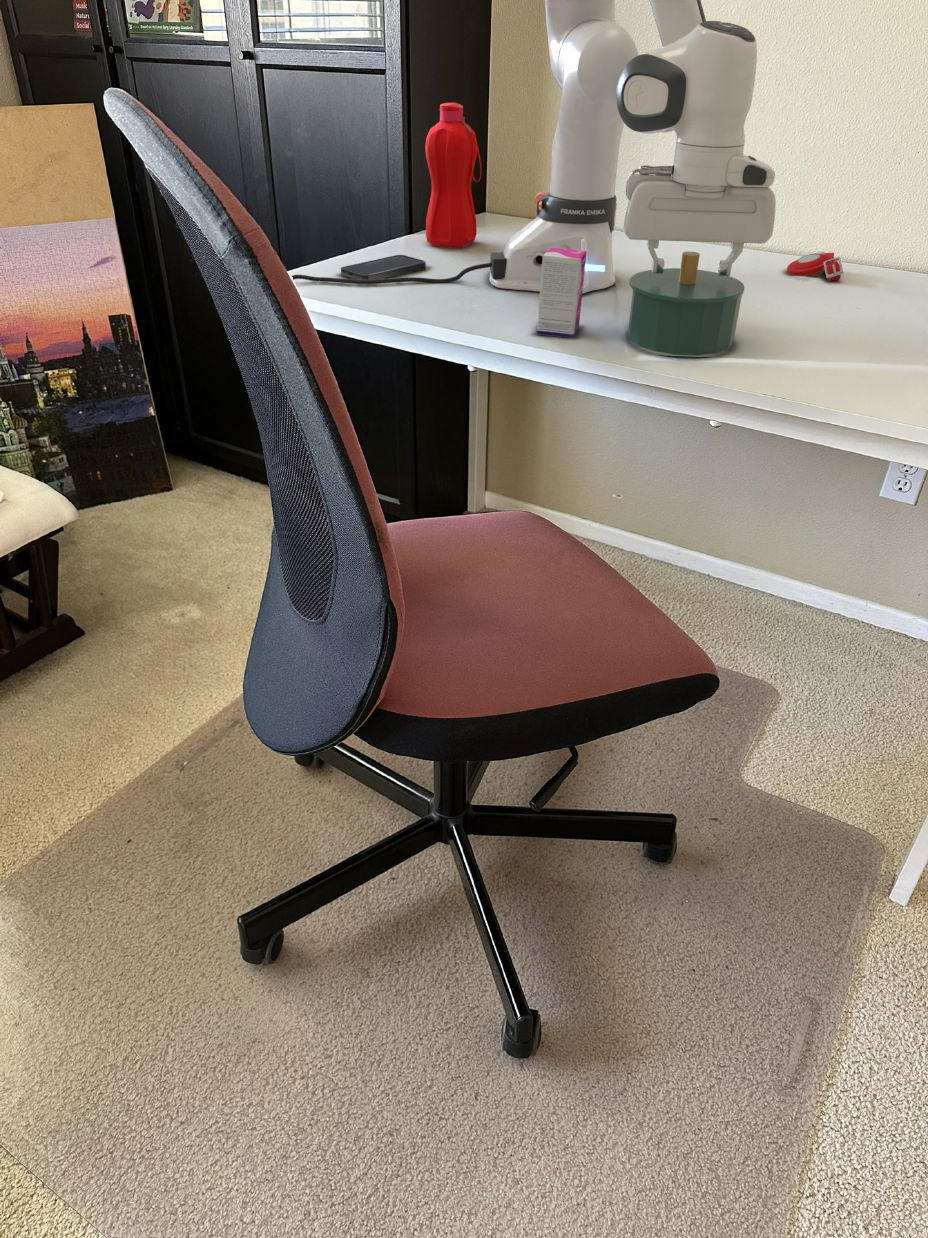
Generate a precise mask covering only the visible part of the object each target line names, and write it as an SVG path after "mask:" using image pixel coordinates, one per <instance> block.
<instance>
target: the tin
mask: <svg viewBox="0 0 928 1238" xmlns="http://www.w3.org/2000/svg"><path fill="white" fill-rule="evenodd" d="M742 297H743V294H742V295H741V296H740V297H738V298H735V299H733V300H728V301H723V302H715V303H684V302H674V301H667V300H661V299H657V298H653V297H649V296H646V295H643V294H641V293H638V292H636V291H635V290H633V289H632V294H631V301H630V311H629V319H628V320H629V321H628V328H627V329H628V330H627V335H628V340H629V341H631V342H632V343H634V344H635V345H637V346H638V347H641V348H643V349H647V350H648V351H649V350H650V351H653V352H657V353H663V354H661V355H660V354H658V356H659V357H664V358H670V359H671V358H672V359H685V360H698V359H699V360H701V359H708V358H711V356H706V355H713V354H718V353H722V352H724V351H727V350H730V348H731V346H732V345H734V340H735V335H736V329H737V324H738V320H739V319H738V318H739V314H740V309H741V308H740V307H741V303H742ZM664 354H669V355H664ZM704 355H705V356H704Z"/></svg>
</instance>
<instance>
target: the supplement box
mask: <svg viewBox="0 0 928 1238" xmlns="http://www.w3.org/2000/svg"><path fill="white" fill-rule="evenodd" d="M586 253H587V252H586V251H582V250H570V249H560V248H550V249H549V250H548V251H547V252H546V253H545V254H544V255H543V261H542V273H541V286H540V291H539V299H538V300H539V301H538V314H537V325H536V335H537V336H538V335H539V336H547V337H548V336H549V337H558V338H568V339H569V338H570V339H572V338H573V337H574V335H575V334H576V331H577V330H578V329H579V327H580V320H581V310H582V299H583V294H582V291H583V282H584V272H585V262H586Z"/></svg>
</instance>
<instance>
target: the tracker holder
mask: <svg viewBox="0 0 928 1238" xmlns="http://www.w3.org/2000/svg"><path fill="white" fill-rule="evenodd" d="M823 271H824V272H825V277H826V279H827V281H829V282H833V281H837V280H840V279H841V277H842V275H843V274H844V269H843V264H842V261H841V256H837V257H835V252H825V251H819V252H817V253H810V254H807V255H804V256H801V257H799V258H798V259H796V260H794V261H792V262H791V263H788V265H787V267H786V274H788V276H790V277H804V276H805V277H806V276H809V275H815V274H818V273H820V272H823Z"/></svg>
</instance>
